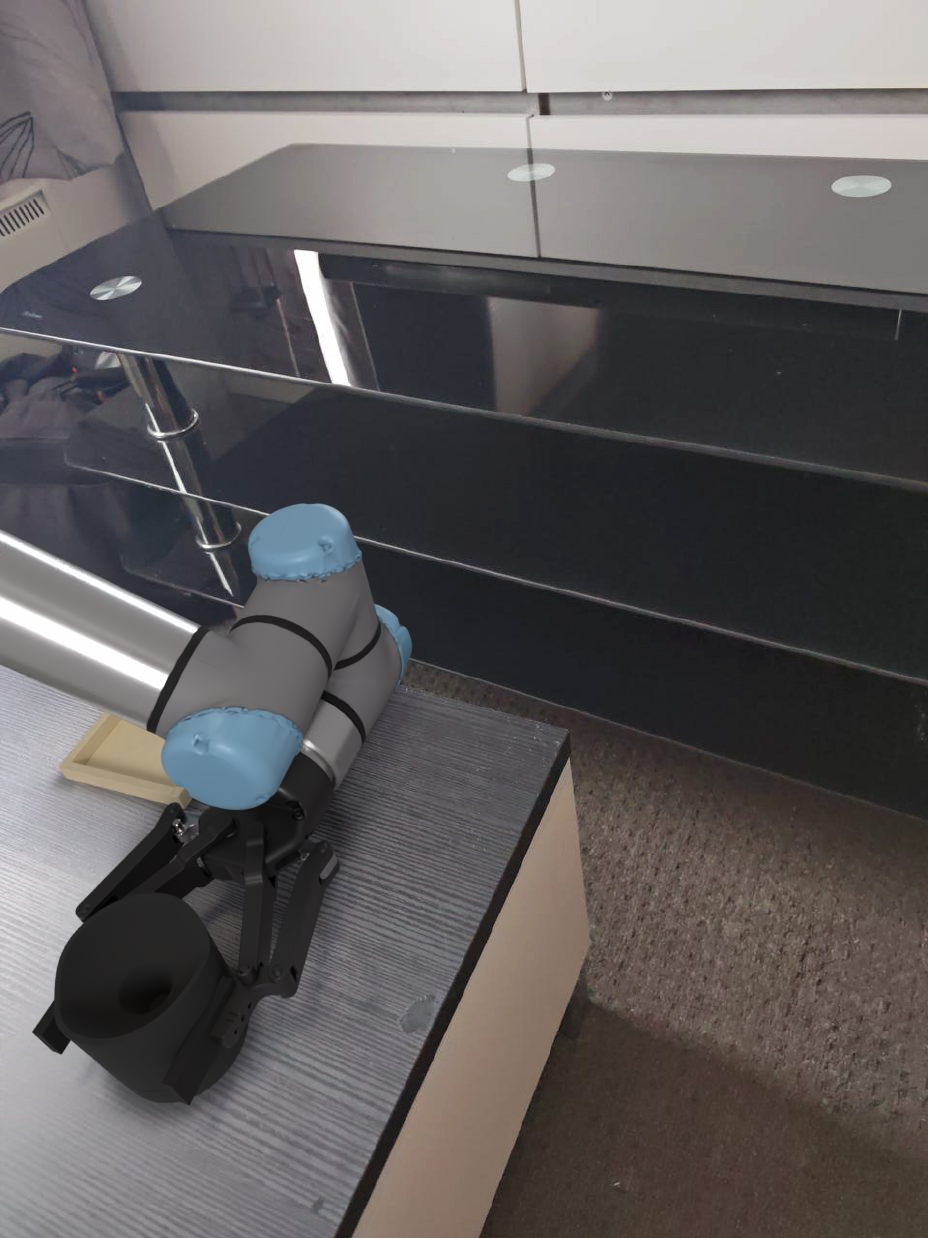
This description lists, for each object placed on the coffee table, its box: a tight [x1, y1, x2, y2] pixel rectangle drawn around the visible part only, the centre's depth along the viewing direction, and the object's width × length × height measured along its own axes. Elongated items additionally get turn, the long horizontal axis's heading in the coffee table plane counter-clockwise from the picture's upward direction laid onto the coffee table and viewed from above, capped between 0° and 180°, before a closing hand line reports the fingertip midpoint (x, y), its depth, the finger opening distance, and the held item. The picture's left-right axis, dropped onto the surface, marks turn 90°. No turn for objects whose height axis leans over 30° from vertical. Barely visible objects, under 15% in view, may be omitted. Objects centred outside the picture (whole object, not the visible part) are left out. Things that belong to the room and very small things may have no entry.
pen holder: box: [53, 893, 249, 1104], centre depth 57 cm, size 9×9×10 cm
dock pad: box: [58, 711, 193, 810], centre depth 81 cm, size 13×13×2 cm
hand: (109, 1068), depth 54 cm, fingers closed on pen holder, 9 cm apart
